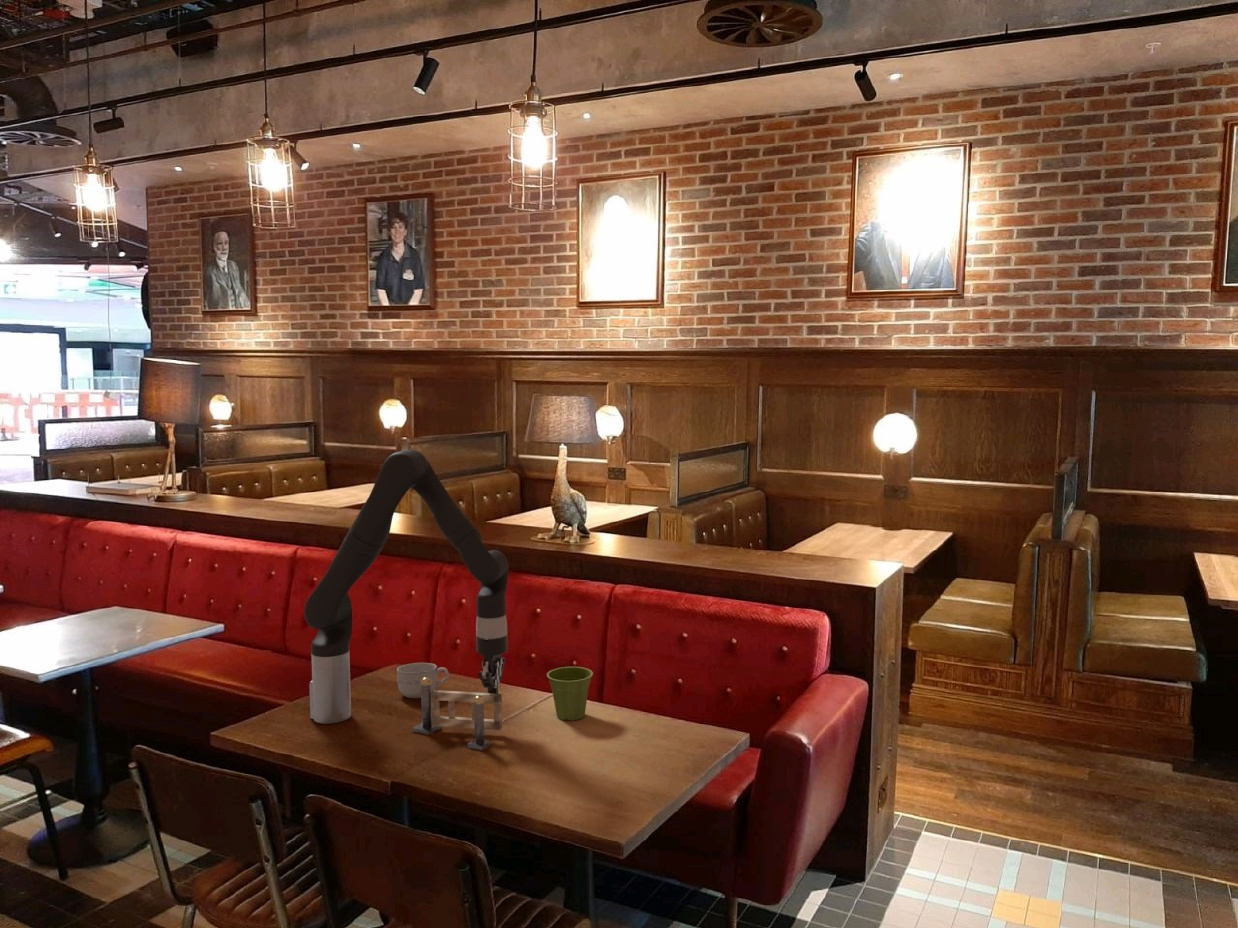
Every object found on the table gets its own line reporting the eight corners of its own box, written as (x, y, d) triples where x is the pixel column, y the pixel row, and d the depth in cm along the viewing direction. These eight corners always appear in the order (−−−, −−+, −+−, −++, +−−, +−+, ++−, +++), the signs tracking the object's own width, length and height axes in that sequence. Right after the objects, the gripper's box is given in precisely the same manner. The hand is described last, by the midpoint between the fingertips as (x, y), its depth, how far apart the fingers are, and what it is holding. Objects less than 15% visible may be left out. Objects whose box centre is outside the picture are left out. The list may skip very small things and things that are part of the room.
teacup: (391, 700, 249) (390, 671, 248) (406, 687, 259) (406, 659, 259) (440, 703, 246) (439, 674, 246) (454, 690, 257) (453, 662, 256)
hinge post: (412, 731, 226) (411, 678, 225) (425, 724, 231) (424, 673, 230) (428, 735, 224) (427, 681, 223) (441, 728, 228) (440, 675, 227)
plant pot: (566, 704, 245) (566, 663, 244) (602, 714, 238) (602, 671, 237) (537, 718, 236) (537, 675, 235) (573, 728, 229) (573, 683, 228)
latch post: (467, 747, 216) (466, 696, 215) (477, 741, 220) (476, 691, 219) (481, 750, 215) (480, 699, 214) (491, 744, 218) (490, 694, 217)
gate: (431, 725, 226) (431, 691, 225) (434, 723, 228) (433, 689, 227) (500, 730, 223) (499, 695, 223) (501, 727, 225) (501, 693, 224)
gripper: (486, 624, 232) (487, 691, 234) (467, 639, 220) (468, 710, 221) (514, 626, 231) (516, 693, 233) (497, 641, 218) (498, 712, 220)
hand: (493, 701), depth 227 cm, fingers closed
